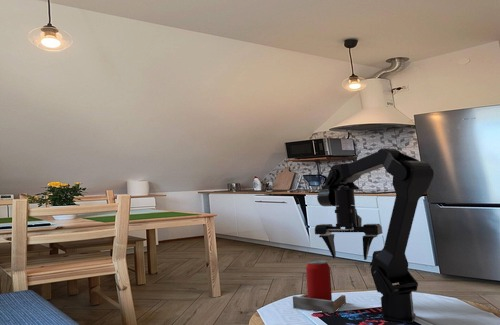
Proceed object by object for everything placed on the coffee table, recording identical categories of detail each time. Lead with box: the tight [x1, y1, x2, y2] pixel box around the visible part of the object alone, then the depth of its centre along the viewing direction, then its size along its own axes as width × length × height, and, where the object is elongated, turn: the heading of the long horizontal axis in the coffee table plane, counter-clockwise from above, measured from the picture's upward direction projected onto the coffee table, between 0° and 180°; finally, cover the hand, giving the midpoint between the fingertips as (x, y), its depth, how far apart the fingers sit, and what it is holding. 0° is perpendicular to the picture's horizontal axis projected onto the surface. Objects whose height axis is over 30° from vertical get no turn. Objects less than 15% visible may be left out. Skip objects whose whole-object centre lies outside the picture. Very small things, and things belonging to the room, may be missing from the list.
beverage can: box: [305, 259, 333, 301], centre depth 94 cm, size 7×7×12 cm
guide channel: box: [292, 292, 347, 314], centre depth 94 cm, size 11×11×3 cm
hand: (349, 259), depth 97 cm, fingers open, 9 cm apart
